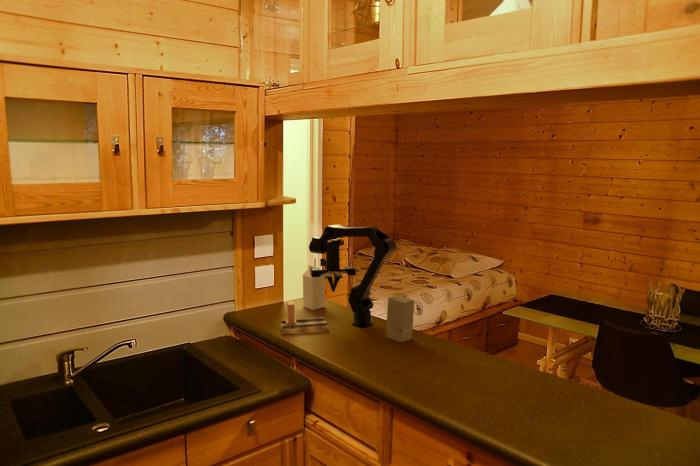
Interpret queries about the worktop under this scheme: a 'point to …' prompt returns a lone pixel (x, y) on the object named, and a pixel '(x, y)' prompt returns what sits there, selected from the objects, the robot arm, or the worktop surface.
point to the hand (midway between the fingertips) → (333, 291)
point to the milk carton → (313, 290)
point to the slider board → (305, 326)
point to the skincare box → (399, 318)
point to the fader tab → (290, 313)
